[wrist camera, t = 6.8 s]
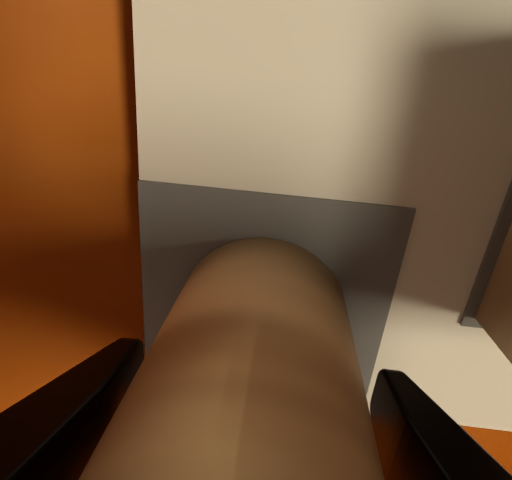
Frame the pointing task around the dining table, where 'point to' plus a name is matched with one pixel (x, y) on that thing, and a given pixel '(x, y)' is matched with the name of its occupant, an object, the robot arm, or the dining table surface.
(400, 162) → the cream grey flat board
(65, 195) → the dining table surface
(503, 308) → the maple base block
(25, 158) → the dining table surface
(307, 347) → the oak dowel
